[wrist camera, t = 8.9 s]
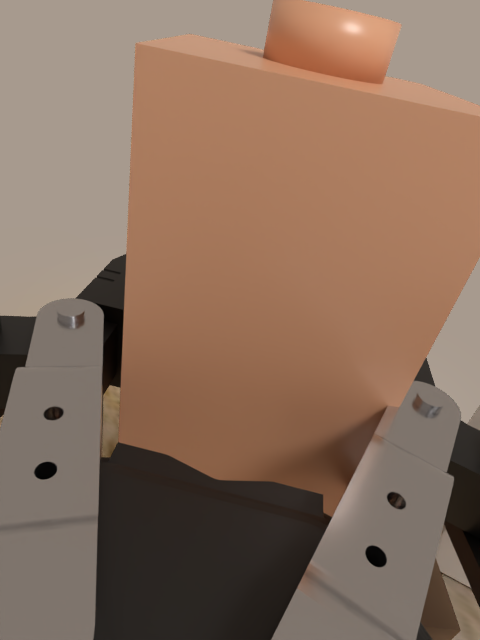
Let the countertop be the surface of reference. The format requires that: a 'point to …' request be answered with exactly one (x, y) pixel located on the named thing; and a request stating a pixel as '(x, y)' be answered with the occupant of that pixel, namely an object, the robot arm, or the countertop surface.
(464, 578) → the milk carton
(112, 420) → the countertop surface
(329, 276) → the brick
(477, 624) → the countertop surface
